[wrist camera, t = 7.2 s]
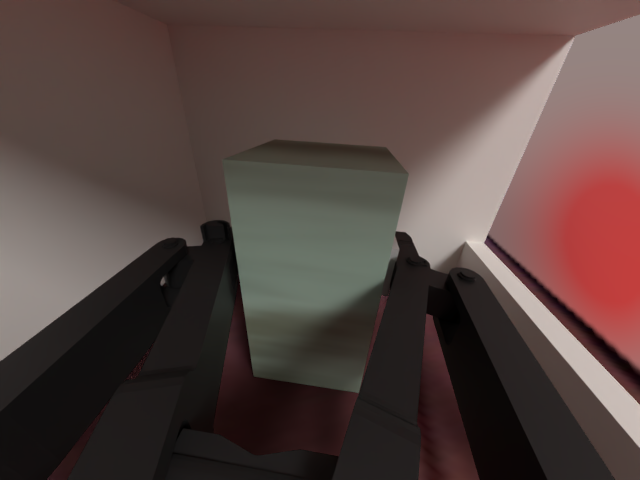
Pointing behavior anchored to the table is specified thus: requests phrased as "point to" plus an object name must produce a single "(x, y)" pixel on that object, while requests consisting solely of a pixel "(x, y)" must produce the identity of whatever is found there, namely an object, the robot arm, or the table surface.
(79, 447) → the table surface
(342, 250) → the sage block
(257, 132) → the nook cabinet
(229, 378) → the table surface
